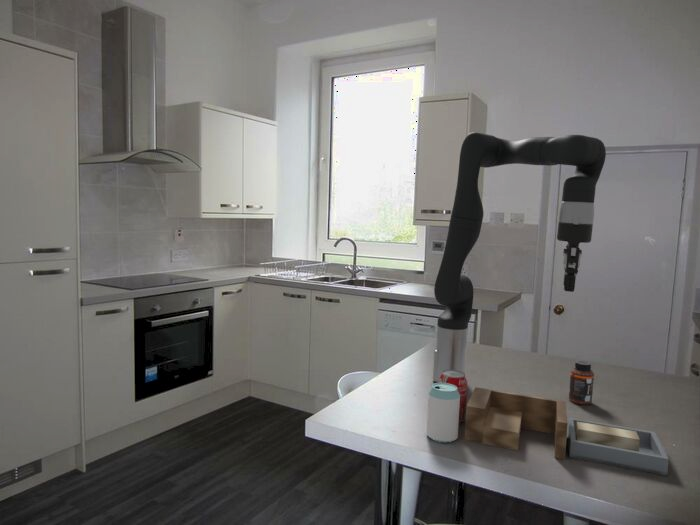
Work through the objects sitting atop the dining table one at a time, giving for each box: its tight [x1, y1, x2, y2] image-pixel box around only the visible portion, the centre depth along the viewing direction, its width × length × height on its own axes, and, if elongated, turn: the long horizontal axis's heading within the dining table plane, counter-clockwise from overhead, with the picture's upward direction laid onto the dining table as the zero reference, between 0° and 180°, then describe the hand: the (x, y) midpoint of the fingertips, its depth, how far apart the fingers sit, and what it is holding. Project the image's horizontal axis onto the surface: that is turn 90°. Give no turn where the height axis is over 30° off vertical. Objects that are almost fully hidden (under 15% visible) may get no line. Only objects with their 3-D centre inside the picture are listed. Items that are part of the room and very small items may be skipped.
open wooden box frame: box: [464, 386, 568, 460], centre depth 114 cm, size 21×14×8 cm, turn 68°
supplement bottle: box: [568, 360, 595, 406], centre depth 139 cm, size 6×6×11 cm
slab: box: [576, 422, 640, 452], centre depth 109 cm, size 12×4×4 cm, turn 69°
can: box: [426, 382, 460, 443], centre depth 112 cm, size 7×7×12 cm
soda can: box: [439, 370, 468, 424], centre depth 123 cm, size 7×7×12 cm
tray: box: [567, 417, 670, 477], centre depth 109 cm, size 18×14×4 cm
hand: (568, 288), depth 119 cm, fingers open, 8 cm apart
